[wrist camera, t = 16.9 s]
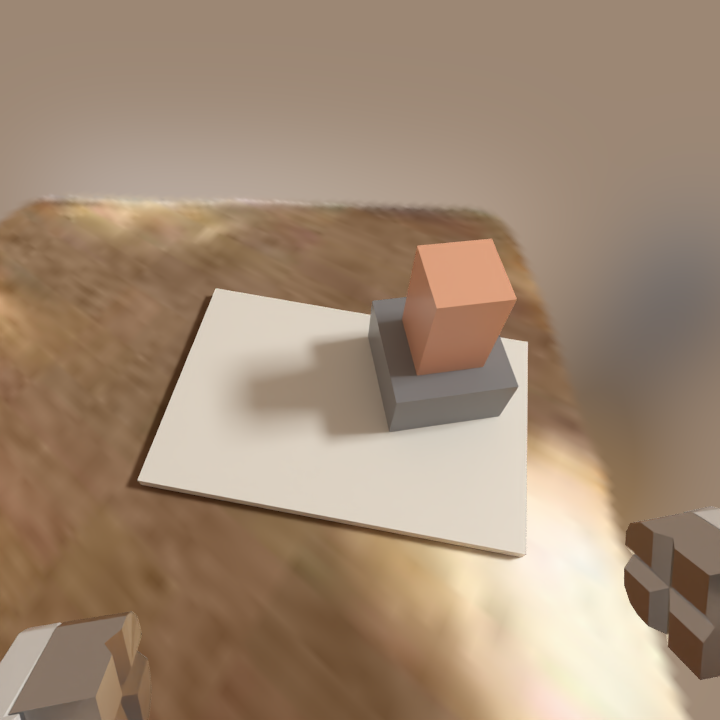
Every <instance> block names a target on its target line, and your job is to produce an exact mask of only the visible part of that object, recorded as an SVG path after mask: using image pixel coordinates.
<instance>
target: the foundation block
mask: <svg viewBox="0 0 720 720" xmlns="http://www.w3.org/2000/svg"><path fill="white" fill-rule="evenodd" d="M406 298H407V297H404V298H395V299H386V300H377V301H372V308H371V316H370V324H369V333H368V339H369V343H370V348H371V352H372V357H373V361H374V366H375V370H376V375H377V379H378V384H379V388H380V393H381V397H382V402H383V406H384V411H385V415H386V420H387V424H388V429H389V432H395V431H402V430H409V429H415V428H422V427H429V426H436V425H443V424H450V423H457V422H464V421H471V420H477V419H484V418H491V417H498V416H500V414H501V413H502V411H503V410H504V408H505V407H506V405H507V404H508V402H509V401H510V399H511V398H512V396H513V394H514V393H515V391H516V390H517V388H518V387H519V386H518V383H517V381H516V378H515V375H514V373H513V370H512V367H511V365H510V362H509V359H508V357H507V354H506V351H505V349H504V346H503V343H502V341H501V338H500V335H499V336H498V338H497V340H496V342H495V344H494V346H493V348H492V350H491V352H490V354H489V356H488V358H487V360H486V362H485V364H484V366H483V367H479V368H471V369H464V370H456V371H448V372H441V373H433V374H426V375H418V376H417V374H416V370H415V366H414V362H413V359H412V355H411V351H410V348H409V344H408V340H407V336H406V333H405V329H404V325H403V321H402V317H403V312H404V307H405V302H406Z"/></svg>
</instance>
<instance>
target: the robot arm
mask: <svg viewBox="0 0 720 720" xmlns="http://www.w3.org/2000/svg"><path fill="white" fill-rule="evenodd" d="M625 545H626V546H627V548H628V549H629V550H630V551H631V553H632V554H633V556H632V557H631V559H630V560H629V562H628V563H627V565H626V566H625V568H624V586H625V589H626V592H627V595H628V598H629V601H630V603H631V605H632V606H633V608H634V610H635V611H636V613H637V614H638V616H639V617H640V618H641V619H642V620H643V621H644V622H645V623H646V624H647V625H648V626H649V627H652V628H654V629H656V630H658V631H661V632H663V633H665V634H667V643H668V647H669V648H670V649H671V650H672V651H673V652H674V653H675V654H676V655H677V657H678V658H680V660H681V661H682V662H683V663H684V664H685V665H686V666H687V667H688V668H689V669H690V670H691V671H692V672H693V673H694V674H695V675H696V676H697V677H698V678H699V679H700V680H703V679H708V678H713V677H718V676H720V508H715V507H705V508H701V509H696V510H691V511H687V512H684V513H682V514H676V515H671V516H665V517H660V518H655V519H649V520H644V521H639V522H634V523H630V525H629V527H628V529H627V531H626V543H625ZM141 635H142V633H141V629H140V625H139V621H138V617H137V615H136V614H134V613H133V612H132V611H131V612H124V613H118V614H112V615H105V616H99V617H92V618H86V619H80V620H73V621H67V622H63V623H55V624H49V625H44V626H38V627H32V628H28V629H26V630H24V631H23V632H21V633H19V635H18V636H17V637H16V639H15V640H14V642H13V644H12V645H11V647H10V648H9V650H8V651H7V653H6V655H5V656H4V658H3V659H2V661H1V662H0V720H148V718H149V714H150V704H151V691H152V688H151V675H150V669H149V664H148V659H147V658H146V657H144V656H143V655H142V654H140V653H139V652H138V651H137V648H138V645H139V642H140V639H141Z"/></svg>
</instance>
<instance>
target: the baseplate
mask: <svg viewBox="0 0 720 720" xmlns="http://www.w3.org/2000/svg"><path fill="white" fill-rule="evenodd" d="M370 316H371V315H367V314H361V313H356V312H350V311H344V310H338V309H332V308H327V307H321V306H315V305H309V304H304V303H298V302H292V301H286V300H280V299H275V298H269V297H263V296H257V295H251V294H246V293H240V292H234V291H228V290H223V289H217V288H216V289H215V291H214V294H213V296H212V299H211V301H210V304H209V306H208V309H207V311H206V313H205V316H204V318H203V321H202V323H201V326H200V328H199V331H198V333H197V335H196V338H195V340H194V343H193V345H192V348H191V350H190V353H189V355H188V358H187V360H186V362H185V365H184V367H183V370H182V372H181V375H180V377H179V380H178V382H177V384H176V387H175V389H174V392H173V394H172V397H171V399H170V402H169V404H168V406H167V409H166V411H165V414H164V416H163V419H162V421H161V424H160V426H159V428H158V431H157V433H156V436H155V438H154V441H153V443H152V446H151V448H150V451H149V453H148V455H147V458H146V460H145V463H144V465H143V468H142V470H141V473H140V475H139V477H138V480H137V481H138V482H139V483H140V484H141V485H145V486H150V487H156V488H161V489H166V490H171V491H177V492H182V493H187V494H192V495H198V496H203V497H208V498H213V499H218V500H224V501H229V502H234V503H239V504H245V505H250V506H255V507H260V508H266V509H271V510H276V511H281V512H287V513H292V514H297V515H302V516H308V517H313V518H318V519H323V520H329V521H334V522H339V523H344V524H350V525H355V526H360V527H365V528H370V529H376V530H381V531H386V532H391V533H397V534H402V535H407V536H412V537H418V538H423V539H428V540H433V541H439V542H444V543H449V544H454V545H460V546H465V547H470V548H475V549H481V550H486V551H491V552H496V553H502V554H507V555H512V556H517V557H523V556H525V555H526V514H527V374H528V342H523V341H518V340H512V339H506V338H501V341H502V343H503V346H504V349H505V351H506V354H507V357H508V359H509V362H510V365H511V367H512V370H513V373H514V375H515V378H516V381H517V383H518V386H519V387H518V388H517V390H516V391H515V393H514V394H513V396H512V398H511V399H510V401H509V402H508V404H507V405H506V407H505V408H504V410H503V411H502V413H501V414H500V416H498V417H491V418H484V419H477V420H471V421H464V422H457V423H450V424H443V425H436V426H429V427H422V428H415V429H409V430H402V431H395V432H389V429H388V424H387V420H386V415H385V411H384V406H383V402H382V397H381V393H380V388H379V384H378V379H377V375H376V370H375V366H374V361H373V357H372V352H371V348H370V343H369V339H368V333H369V324H370Z"/></svg>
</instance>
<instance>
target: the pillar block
mask: <svg viewBox="0 0 720 720" xmlns="http://www.w3.org/2000/svg"><path fill="white" fill-rule="evenodd" d="M516 300H517V298H516V296H515V294H514V291H513V289H512V286H511V284H510V281H509V279H508V277H507V274H506V272H505V269H504V267H503V265H502V262H501V260H500V257H499V255H498V252H497V250H496V248H495V245H494V243H493V240H492V239H483V240H473V241H463V242H452V243H442V244H432V245H421V246H417V249H416V254H415V259H414V264H413V269H412V274H411V278H410V283H409V288H408V293H407V298H406V302H405V307H404V312H403V317H402V321H403V325H404V329H405V333H406V336H407V340H408V344H409V348H410V351H411V355H412V359H413V362H414V366H415V370H416V374H417V376H418V375H426V374H433V373H441V372H448V371H456V370H464V369H471V368H479V367H483V366H484V364H485V362H486V360H487V358H488V356H489V354H490V352H491V350H492V348H493V346H494V344H495V342H496V340H497V338H498V336H499V334H500V332H501V330H502V328H503V326H504V324H505V322H506V320H507V318H508V316H509V314H510V312H511V310H512V308H513V306H514V304H515V302H516Z"/></svg>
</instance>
